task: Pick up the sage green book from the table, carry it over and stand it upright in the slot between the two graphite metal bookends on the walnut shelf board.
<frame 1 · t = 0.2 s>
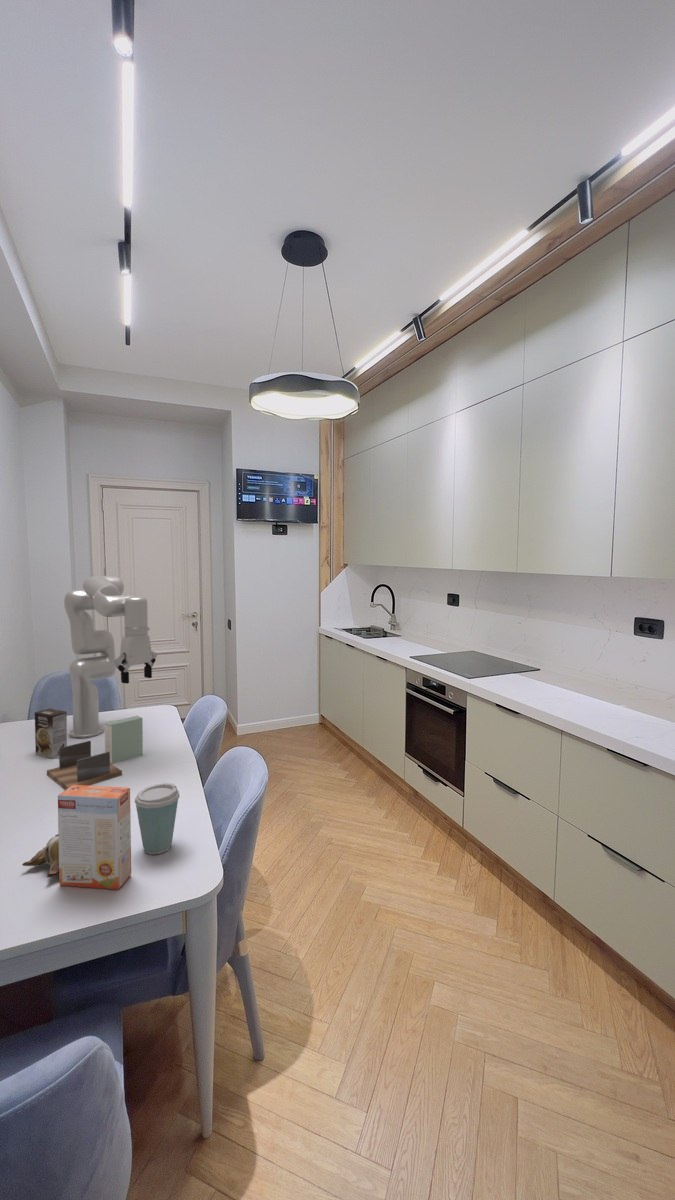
hand: (136, 680, 175), 30 cm above the table, fingers open, 9 cm apart
disposable coffee cup: (157, 848, 125), on the table
book: (124, 757, 182), on the table
bookshelf board: (84, 774, 166), on the table
coffee box: (51, 754, 184), on the table
cracker box: (96, 881, 112), on the table
ceramic sculpture: (65, 863, 118), on the table
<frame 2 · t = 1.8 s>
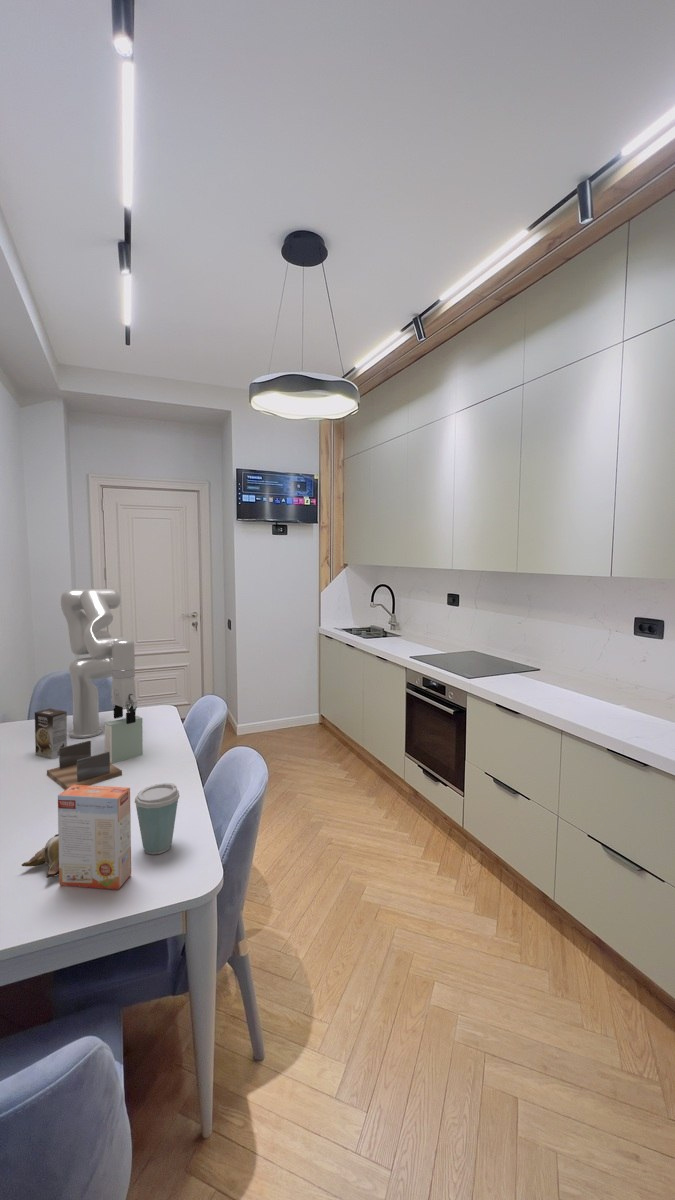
hand: (124, 720, 180), 14 cm above the table, fingers open, 9 cm apart
nothing on the table moved.
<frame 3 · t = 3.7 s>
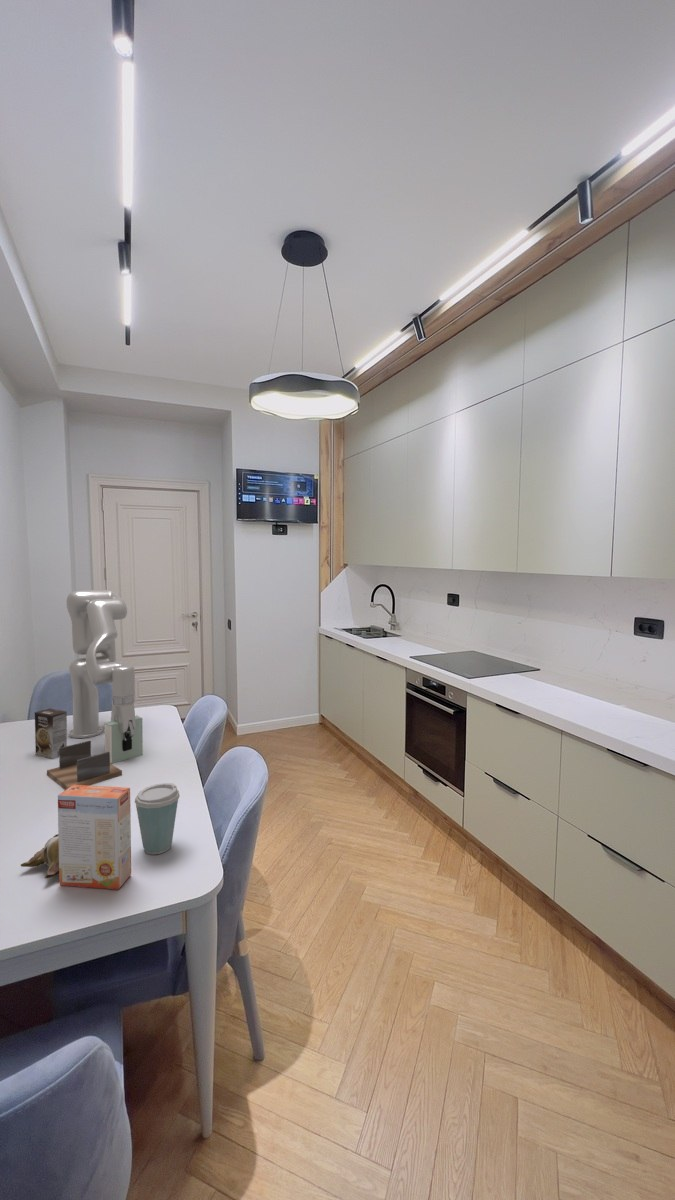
hand: (124, 747, 181), 4 cm above the table, fingers closed on book, 4 cm apart
book: (124, 757, 182), on the table, touching gripper
everything else where it was.
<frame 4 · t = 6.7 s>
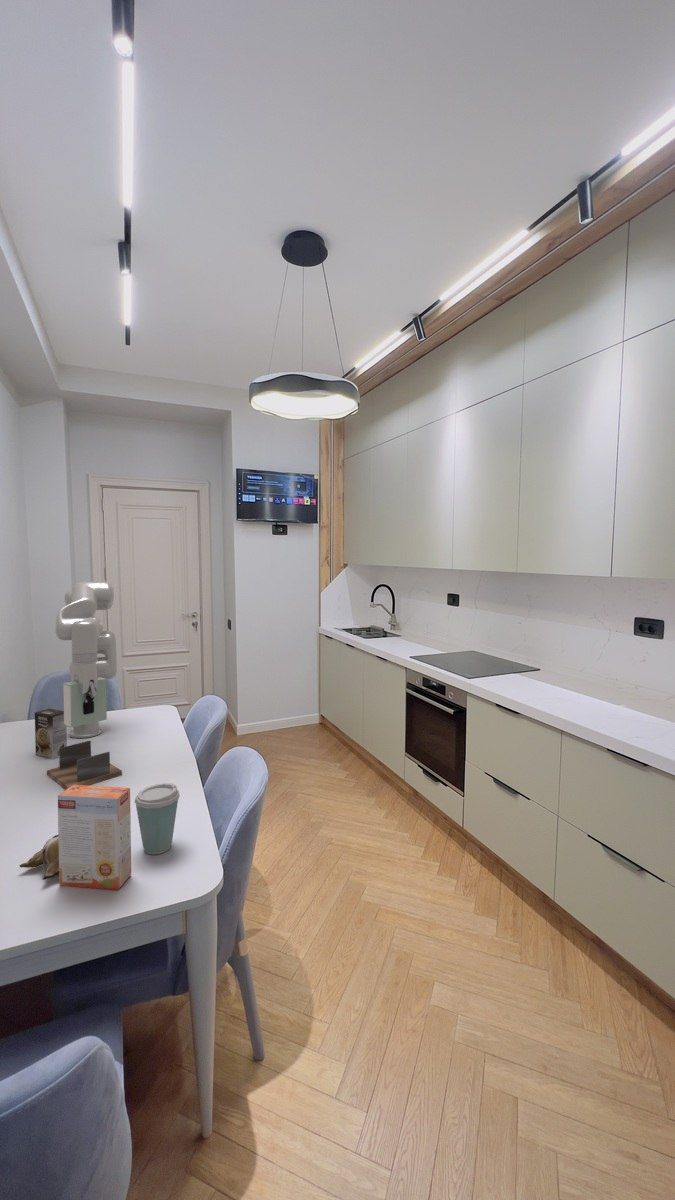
hand: (85, 711, 166), 21 cm above the table, fingers closed on book, 4 cm apart
book: (85, 722, 166), point 18 cm above the table, touching gripper
when the fingers open (6 cm above the table, at t = 9.9 s): book drops 1 cm, resting on bookshelf board.
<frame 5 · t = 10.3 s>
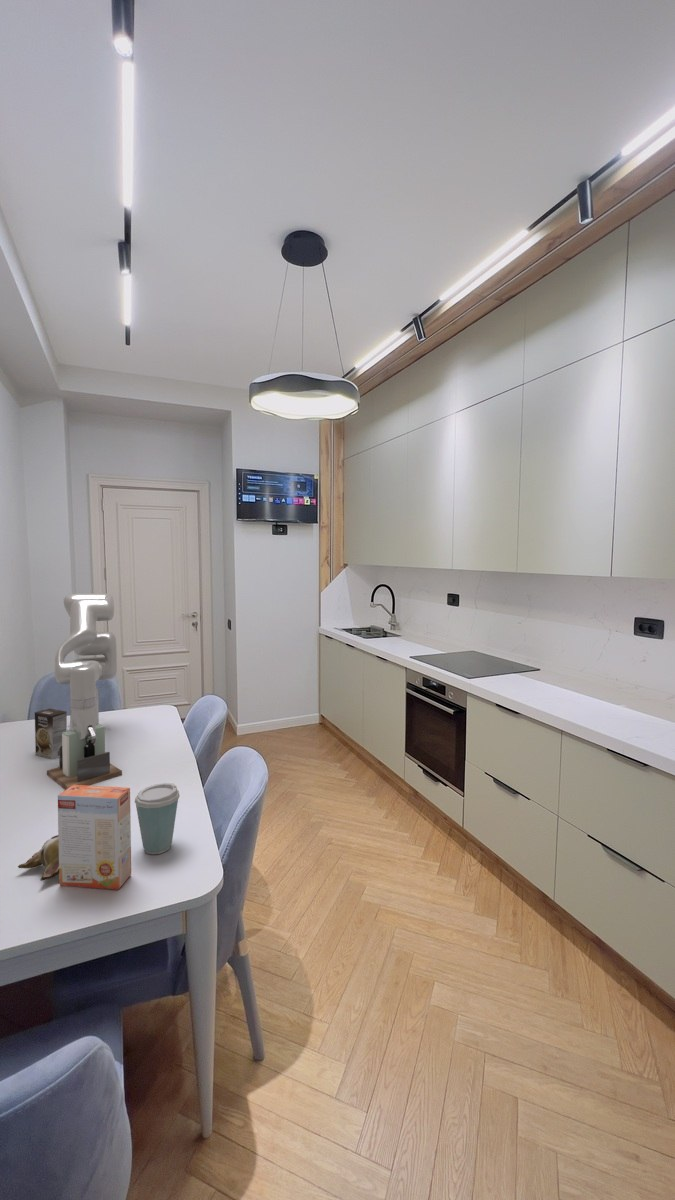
hand: (84, 753, 166), 7 cm above the table, fingers open, 7 cm apart
book: (84, 770, 167), point 1 cm above the table, touching bookshelf board
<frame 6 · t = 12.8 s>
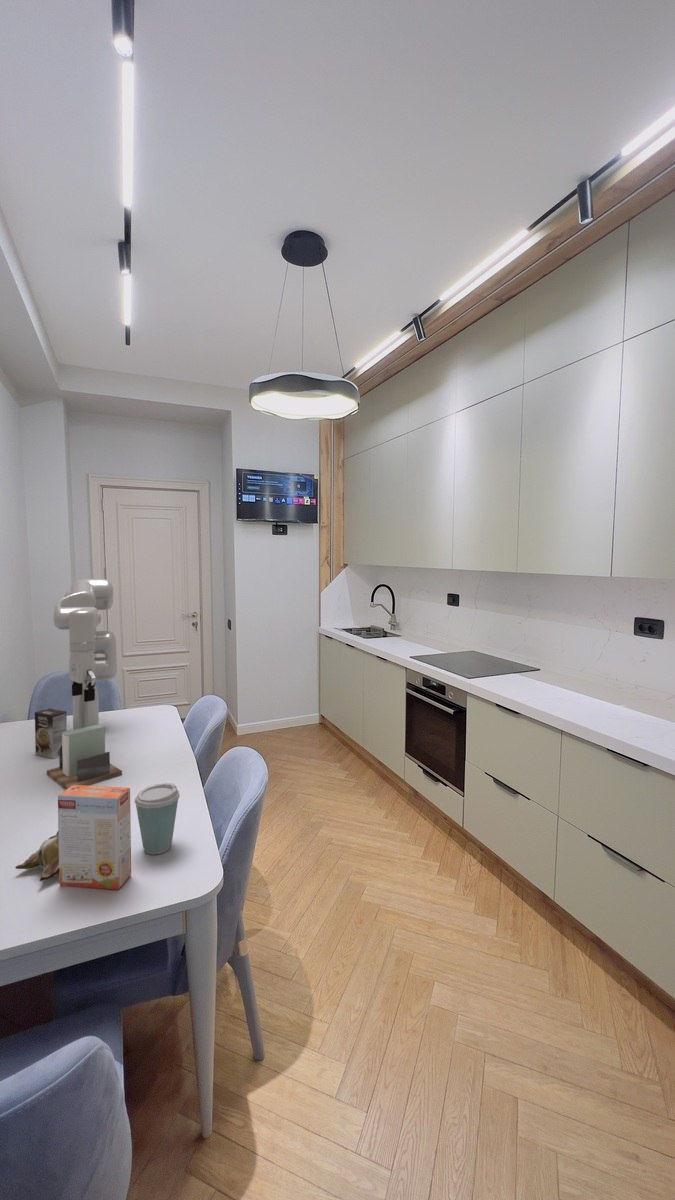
hand: (83, 698, 165), 26 cm above the table, fingers open, 9 cm apart
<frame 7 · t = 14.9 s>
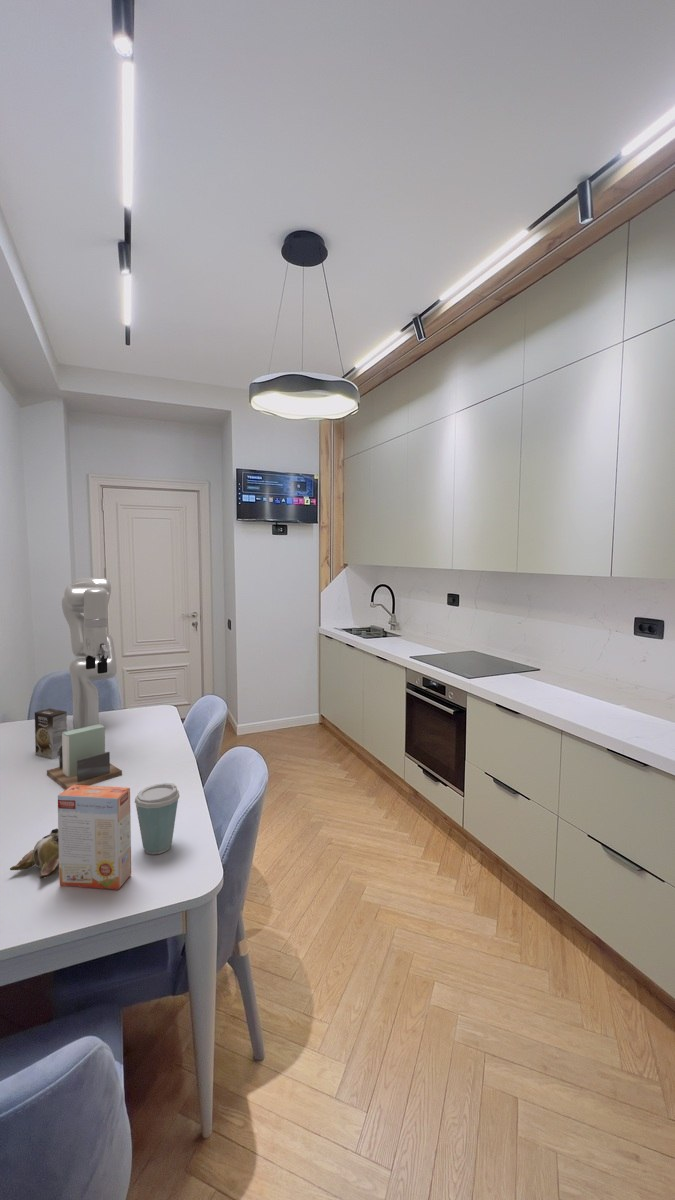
hand: (96, 670, 178), 32 cm above the table, fingers open, 9 cm apart
ceramic sculpture: (53, 865, 117), on the table
everything else where it was.
at the end: book 0.1 cm off-centre on the bookshelf board, point 1.5 cm above the bookshelf board's base; book tilted 0°; the gripper is holding nothing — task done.
